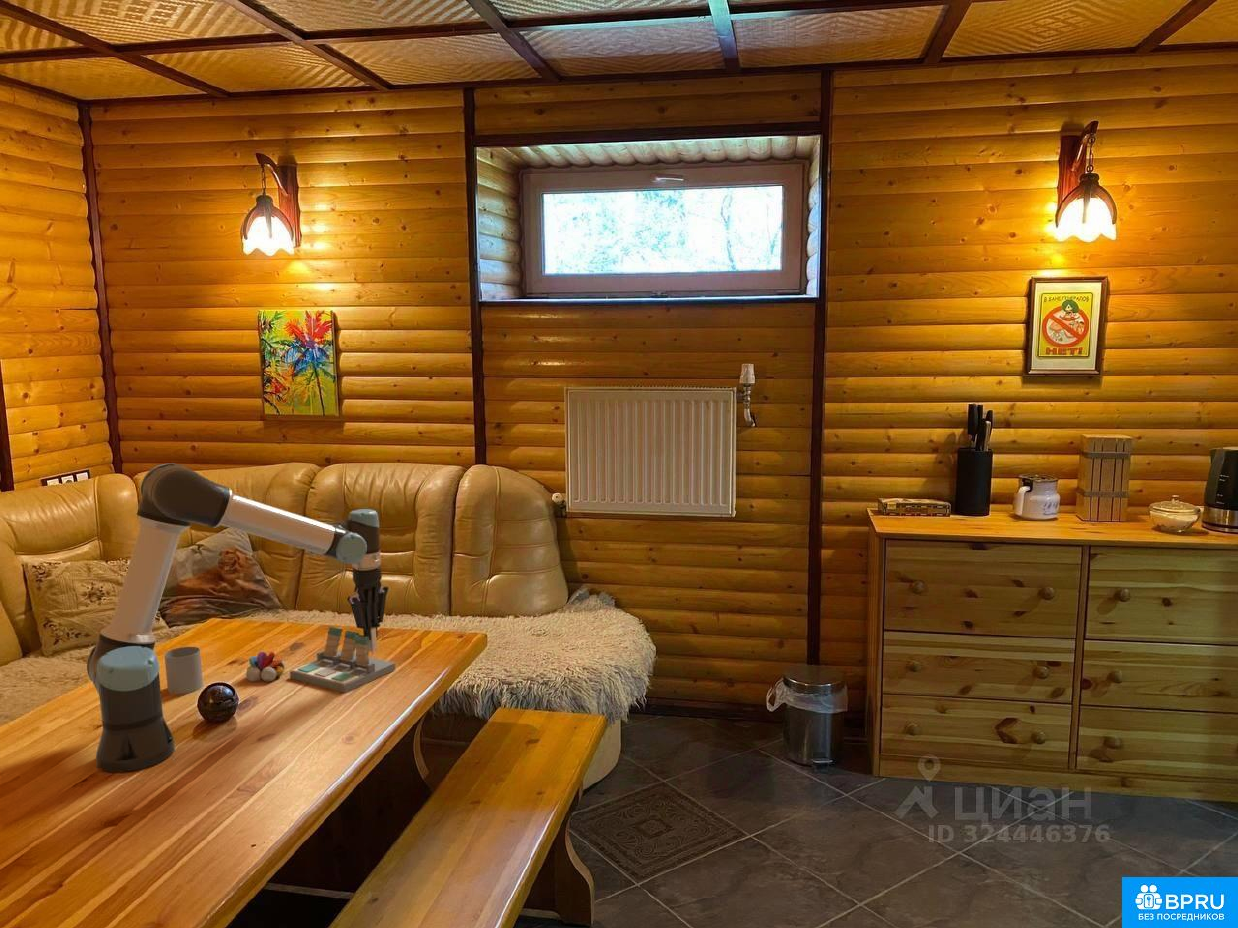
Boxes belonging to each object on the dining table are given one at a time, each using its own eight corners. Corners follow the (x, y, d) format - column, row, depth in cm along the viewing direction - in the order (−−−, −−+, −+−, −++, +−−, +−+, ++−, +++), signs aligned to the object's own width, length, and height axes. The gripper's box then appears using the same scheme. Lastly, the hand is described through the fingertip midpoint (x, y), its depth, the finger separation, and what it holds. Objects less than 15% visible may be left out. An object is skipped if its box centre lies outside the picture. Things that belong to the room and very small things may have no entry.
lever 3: (366, 670, 235) (365, 638, 234) (354, 667, 237) (354, 635, 236) (370, 668, 236) (369, 636, 235) (358, 665, 238) (358, 634, 237)
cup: (209, 682, 234) (206, 646, 233) (191, 694, 226) (188, 658, 225) (179, 681, 235) (176, 646, 234) (160, 694, 227) (157, 657, 226)
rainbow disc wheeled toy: (277, 683, 233) (275, 657, 232) (241, 683, 233) (239, 657, 232) (289, 671, 242) (288, 646, 241) (255, 671, 242) (253, 646, 241)
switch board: (345, 692, 226) (344, 677, 225) (290, 678, 237) (289, 663, 236) (395, 669, 241) (394, 655, 241) (341, 656, 252) (340, 642, 251)
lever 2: (348, 665, 238) (356, 632, 239) (337, 662, 240) (345, 630, 242) (352, 665, 239) (360, 632, 241) (341, 662, 241) (348, 630, 243)
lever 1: (332, 661, 241) (339, 628, 243) (321, 658, 243) (328, 626, 245) (335, 661, 242) (343, 629, 244) (324, 658, 244) (332, 626, 246)
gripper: (358, 574, 228) (363, 660, 231) (394, 562, 239) (398, 645, 243) (338, 570, 232) (343, 655, 235) (374, 559, 243) (379, 641, 246)
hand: (371, 650), depth 239 cm, fingers closed
